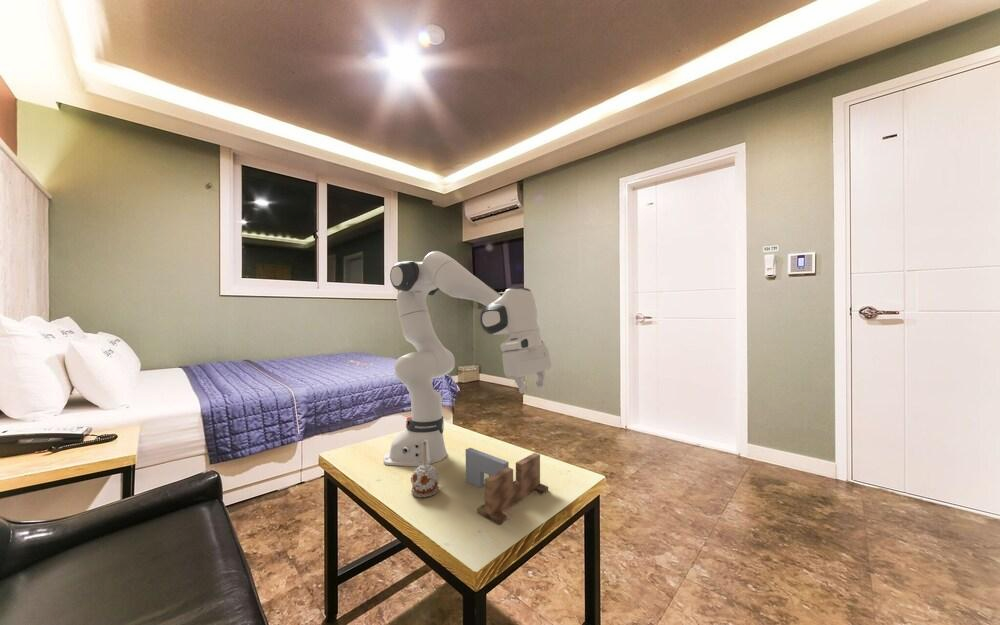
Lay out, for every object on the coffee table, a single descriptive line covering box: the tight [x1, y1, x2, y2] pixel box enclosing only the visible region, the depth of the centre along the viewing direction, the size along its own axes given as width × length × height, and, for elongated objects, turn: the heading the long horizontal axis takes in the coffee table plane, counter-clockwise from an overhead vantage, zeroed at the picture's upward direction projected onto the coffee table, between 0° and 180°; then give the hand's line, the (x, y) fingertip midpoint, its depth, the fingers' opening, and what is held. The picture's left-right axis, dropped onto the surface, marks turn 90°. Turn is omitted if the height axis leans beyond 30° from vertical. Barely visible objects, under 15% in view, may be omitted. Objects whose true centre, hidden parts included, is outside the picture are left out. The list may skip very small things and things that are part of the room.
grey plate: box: [465, 447, 510, 488], centre depth 107 cm, size 16×2×10 cm, turn 49°
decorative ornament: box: [410, 442, 440, 498], centre depth 106 cm, size 8×8×15 cm
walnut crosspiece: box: [476, 452, 549, 526], centre depth 100 cm, size 22×8×10 cm, turn 139°
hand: (532, 389), depth 102 cm, fingers open, 8 cm apart
